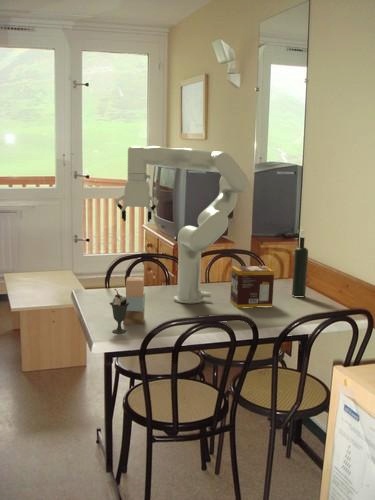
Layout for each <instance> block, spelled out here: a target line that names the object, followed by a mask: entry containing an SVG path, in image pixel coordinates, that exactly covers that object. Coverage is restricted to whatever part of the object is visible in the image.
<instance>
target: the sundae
mask: <svg viewBox="0 0 375 500" xmlns="http://www.w3.org/2000/svg"><path fill="white" fill-rule="evenodd" d="M114 290H115V292H116V294H115V295H114V298H113V300H112V301H111V302H109V305H110V306H111V308H112V314H113V315H112V316H113V319H114V320H115V321H116V322H117V327H116V329H115V328H114V329H113V330H112V331H111V332H112V333H113V334H117V335H121V334H125V333H127V330H126V329H123V327H122V323H123V320H124V319H125V317H126V311H127V306H128V305H129V303H128V302H127V300H126V299H125V298H124V295H120V294H119V293H118V290H117V288H114Z"/></svg>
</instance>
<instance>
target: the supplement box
mask: <svg viewBox="0 0 375 500" xmlns="http://www.w3.org/2000/svg"><path fill="white" fill-rule="evenodd" d="M274 277H275V271H274V270H273V269H271V268H269V267H268V266H266V265H244V266H243V265H242V266H241V265H238V266H237V265H235V266H234V265H233V266H232V265H231V276H230V300H229V302H230V303H231V304H232V305H233V304H234V305H235V306H236V307H237V308H236V309H244V308H243V307H257V306H272V307H273V299H274V297H273V296H274V281H275V279H274ZM234 305H233V306H234ZM235 306H234V307H235Z"/></svg>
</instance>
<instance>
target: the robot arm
mask: <svg viewBox="0 0 375 500" xmlns="http://www.w3.org/2000/svg"><path fill="white" fill-rule="evenodd" d="M148 165H149V166H150V165H151V166H160V167H161V166H162V167H170V168H177V169H180V170H186V171H187V170H190V171H200V172H212V173H219V174H220V175H221V176H220V178H219V193H218V195H217V197H216V198H215V199H214V200H213V201H212V202H211V203H210V204H209V205H208V206H207V207H206V208H205V209H204V210H202V212H200V213H199V215H198V217H197V225H198V227H197V226H194V225H185V226H183V227H182V228H180V229H179V232H178V234H177V248H178V263H177V264H178V265H177V266H178V267H177V295H174V296H173V300H174V302H176V303H180V304H189V305H190V304H199V303H203V301H204V298H211V296H212V293H211V292H208V291H203V290H202V289H201V277H202V274H201V273H202V252H204V251H206V250H208V248H210V247H211V246H212V245H214V243H216V241H218V239H219V238H220V237H221V236H223V234H225V232H226V231H227V229H228V227H229V223H230V222H229V217H228V216H229V215H230V214H231V212H233V210H234V209H235V208H236V205H237V201H238V194H243V193H246V191H248V189H249V187H250V180H249V177H248V175H247V174H246V172H245V171H244V170H243V169H242V167H240V165H239V163H237V161H236V160H235V158H233V156H231V154H230V153H228V152H225V151H215V150H206V149H197V148H189V147H188V148H186V147H184V148H175V147H174V148H173V147H172V148H171V147H163V146H159V145H150V146H147V147H145V146H139V145H134V146H133V145H132V146H129V147H128V148H127V180H125V185H124V192H123V195H122V196H120V197H118V198H116V199H115V200H114V202H115V204H116V206H117V207H118V208H119V210H120V211H121V219H122V220H123V222H126V220H127V211H126V209H127V207H131V208H132V207H137V208H146V209H147V210H148V211H147V222H150V221H151V220H152V215H153V213H152V212H153V211H154V209H156V208H157V206H158V204H159V201H160V200H158V199H157V198H154V197H153V196H151V193H150V192H151V190H150V183H149V181H147V180H149V179H151V175H149V174H147V173H148V168H147V167H148ZM121 201H123V205H122V204H121ZM151 201H152V202H153V203H154V204H153V205H152V206H151V205H150V203H151Z"/></svg>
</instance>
